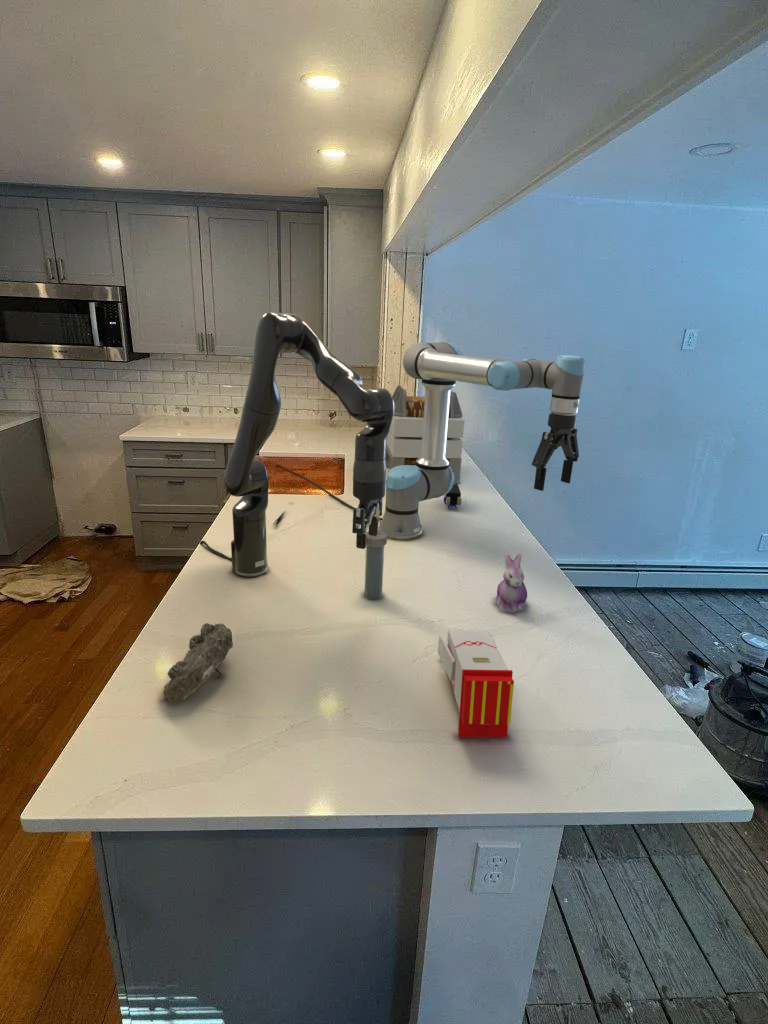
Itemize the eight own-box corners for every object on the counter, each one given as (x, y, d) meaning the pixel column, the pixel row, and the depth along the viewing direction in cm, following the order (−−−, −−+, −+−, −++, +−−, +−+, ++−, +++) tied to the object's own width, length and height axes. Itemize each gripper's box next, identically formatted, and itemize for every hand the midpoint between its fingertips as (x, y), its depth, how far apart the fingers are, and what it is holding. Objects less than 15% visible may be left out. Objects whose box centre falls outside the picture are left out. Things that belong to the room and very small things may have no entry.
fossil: (187, 626, 130) (233, 595, 125) (216, 654, 133) (262, 625, 128) (141, 695, 110) (194, 662, 105) (176, 726, 113) (229, 696, 108)
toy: (488, 613, 130) (523, 677, 101) (484, 667, 133) (517, 744, 104) (435, 612, 130) (455, 676, 101) (432, 666, 133) (451, 743, 103)
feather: (291, 505, 226) (294, 501, 225) (275, 529, 199) (277, 524, 199) (288, 503, 226) (290, 499, 225) (270, 526, 199) (273, 522, 199)
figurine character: (461, 514, 225) (456, 498, 239) (463, 497, 222) (458, 482, 235) (444, 513, 225) (440, 498, 239) (446, 496, 222) (442, 481, 235)
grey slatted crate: (382, 463, 289) (386, 382, 275) (445, 464, 293) (451, 384, 279) (390, 482, 257) (394, 392, 243) (460, 483, 261) (468, 394, 247)
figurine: (509, 617, 148) (516, 565, 143) (485, 599, 156) (491, 550, 151) (537, 610, 152) (544, 559, 147) (512, 593, 161) (519, 544, 156)
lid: (373, 536, 155) (374, 528, 155) (391, 542, 152) (391, 534, 151) (359, 542, 151) (359, 534, 150) (376, 549, 147) (377, 541, 147)
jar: (372, 589, 160) (374, 531, 154) (385, 594, 157) (388, 536, 151) (360, 595, 156) (362, 536, 150) (374, 601, 153) (376, 541, 147)
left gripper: (364, 467, 138) (362, 529, 143) (342, 482, 125) (341, 550, 131) (394, 471, 136) (391, 533, 141) (374, 487, 123) (372, 555, 129)
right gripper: (548, 419, 148) (537, 496, 155) (598, 411, 163) (586, 482, 171) (525, 414, 153) (515, 489, 160) (575, 407, 169) (564, 476, 176)
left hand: (367, 541), depth 136 cm, fingers open, 8 cm apart
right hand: (552, 485), depth 166 cm, fingers open, 13 cm apart
